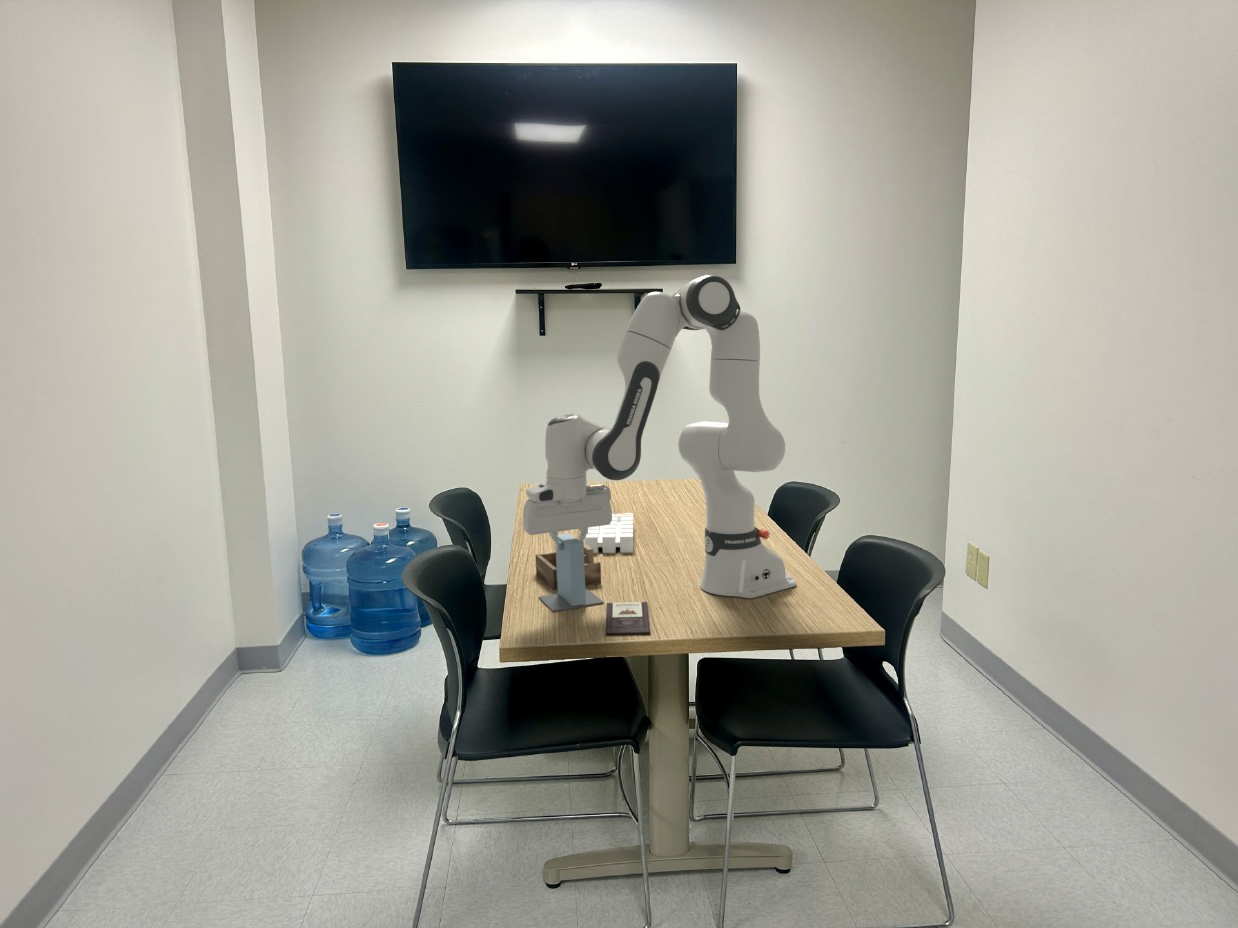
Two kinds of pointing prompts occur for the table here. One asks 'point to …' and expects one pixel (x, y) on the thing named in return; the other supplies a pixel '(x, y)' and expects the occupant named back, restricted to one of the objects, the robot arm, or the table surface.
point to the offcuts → (588, 554)
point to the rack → (549, 570)
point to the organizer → (612, 535)
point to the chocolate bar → (627, 619)
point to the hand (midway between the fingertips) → (569, 548)
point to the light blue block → (571, 570)
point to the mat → (559, 603)
